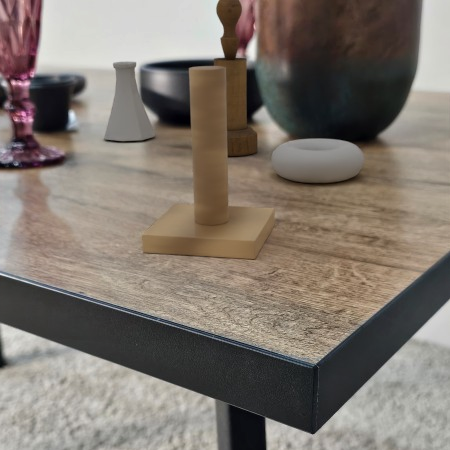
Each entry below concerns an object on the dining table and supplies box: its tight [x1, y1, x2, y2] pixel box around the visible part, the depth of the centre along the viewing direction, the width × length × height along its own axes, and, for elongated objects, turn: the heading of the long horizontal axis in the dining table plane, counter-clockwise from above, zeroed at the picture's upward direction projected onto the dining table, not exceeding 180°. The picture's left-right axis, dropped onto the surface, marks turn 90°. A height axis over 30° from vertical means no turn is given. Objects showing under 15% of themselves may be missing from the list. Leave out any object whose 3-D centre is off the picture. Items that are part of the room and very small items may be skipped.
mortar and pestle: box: [213, 0, 259, 157], centre depth 89 cm, size 7×6×18 cm
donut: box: [270, 138, 365, 184], centre depth 80 cm, size 10×4×10 cm
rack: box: [141, 65, 276, 260], centre depth 59 cm, size 9×9×14 cm
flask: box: [103, 61, 155, 142], centre depth 101 cm, size 7×7×10 cm
